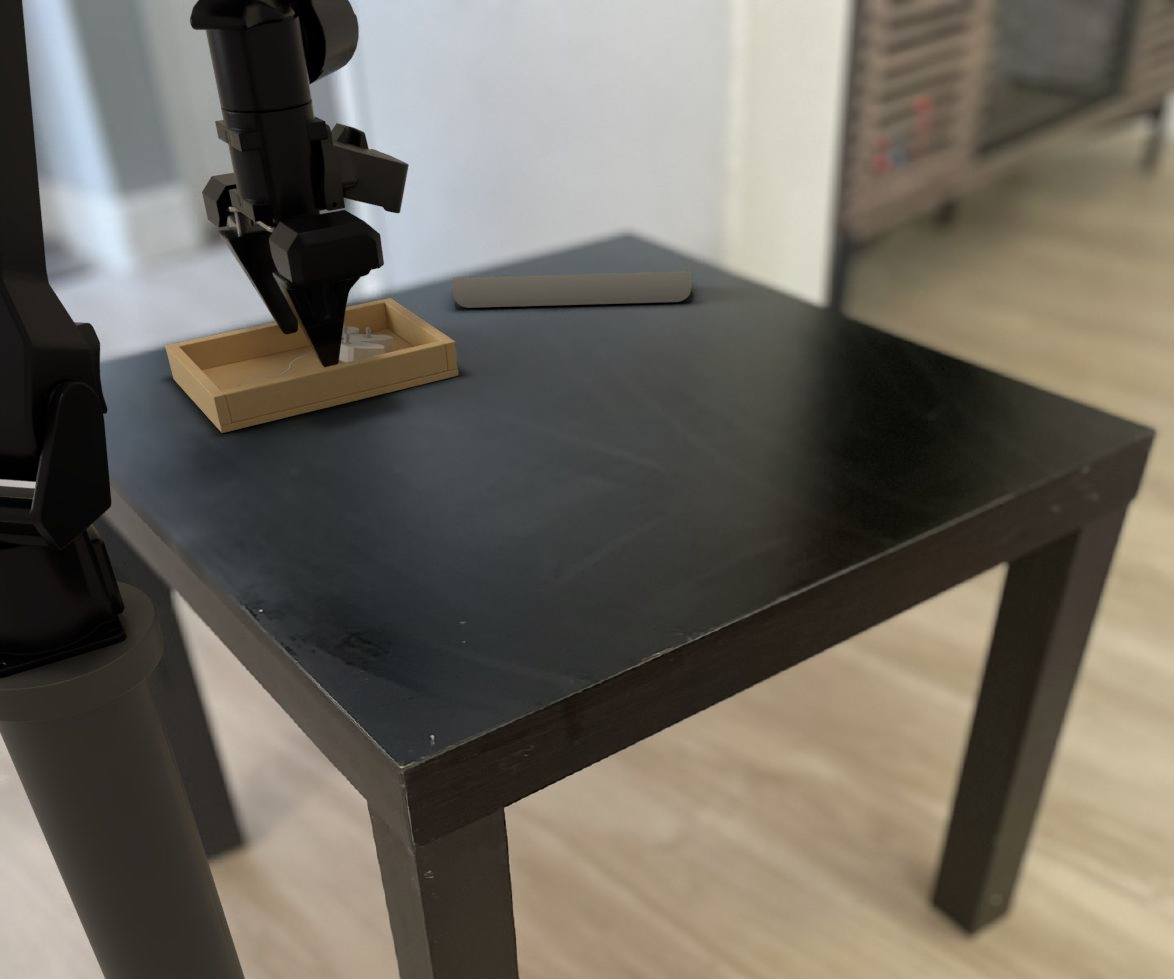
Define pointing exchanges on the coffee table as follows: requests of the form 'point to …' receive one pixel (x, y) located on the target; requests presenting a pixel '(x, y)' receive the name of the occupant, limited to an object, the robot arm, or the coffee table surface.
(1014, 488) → the coffee table surface
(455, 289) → the gray half cylinder
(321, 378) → the serving tray
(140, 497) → the coffee table surface
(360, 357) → the game controller
